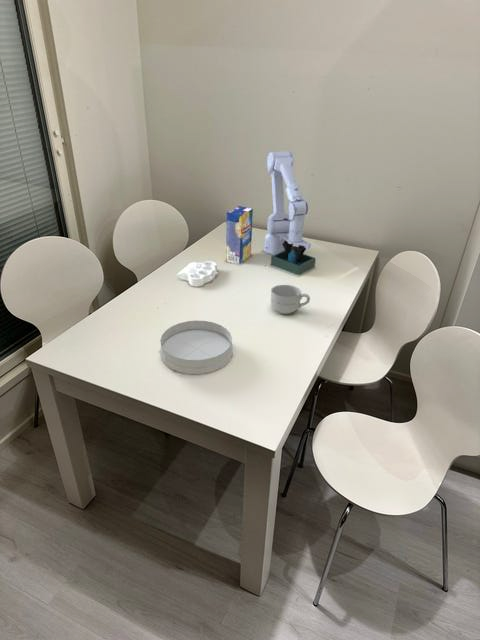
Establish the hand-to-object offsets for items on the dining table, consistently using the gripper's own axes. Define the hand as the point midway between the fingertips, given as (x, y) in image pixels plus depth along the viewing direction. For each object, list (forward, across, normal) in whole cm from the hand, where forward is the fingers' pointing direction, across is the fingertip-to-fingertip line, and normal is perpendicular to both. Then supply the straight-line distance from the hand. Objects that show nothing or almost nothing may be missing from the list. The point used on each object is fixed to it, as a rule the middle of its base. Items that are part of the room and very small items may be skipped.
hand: (293, 260), depth 196 cm
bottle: (+2, 0, 0) cm, 2 cm away
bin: (+3, 0, 0) cm, 3 cm away
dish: (+3, +16, -73) cm, 75 cm away
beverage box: (+3, -22, -10) cm, 25 cm away
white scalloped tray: (+3, -22, -35) cm, 41 cm away
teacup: (+3, +22, -32) cm, 39 cm away
